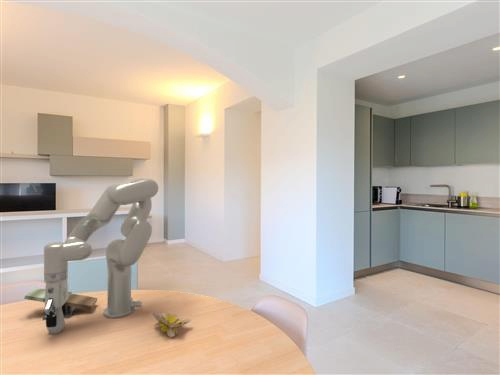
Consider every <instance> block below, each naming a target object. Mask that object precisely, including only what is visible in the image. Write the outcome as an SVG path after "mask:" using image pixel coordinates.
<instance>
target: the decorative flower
mask: <svg viewBox="0 0 500 375" xmlns="http://www.w3.org/2000/svg"><path fill="white" fill-rule="evenodd" d="M150 313H151V315H152V316H153V318H154V319H155V320H156V321H157V323H155V324H154V325H153V327H156V328H160V330H161V332H162V333H165V334H167V335H168V337H170V338H172V337H175V335H177V334H178V335H179V332H178V327H182V326H184V325H186V324H188V323H190V322H192V320H191V319H189V318H184V319H183V318H180V315H178V314H171V313H166V312H161V313H160V314H159V313H158V312H157V313H156V312H155V311H150Z"/></svg>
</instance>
